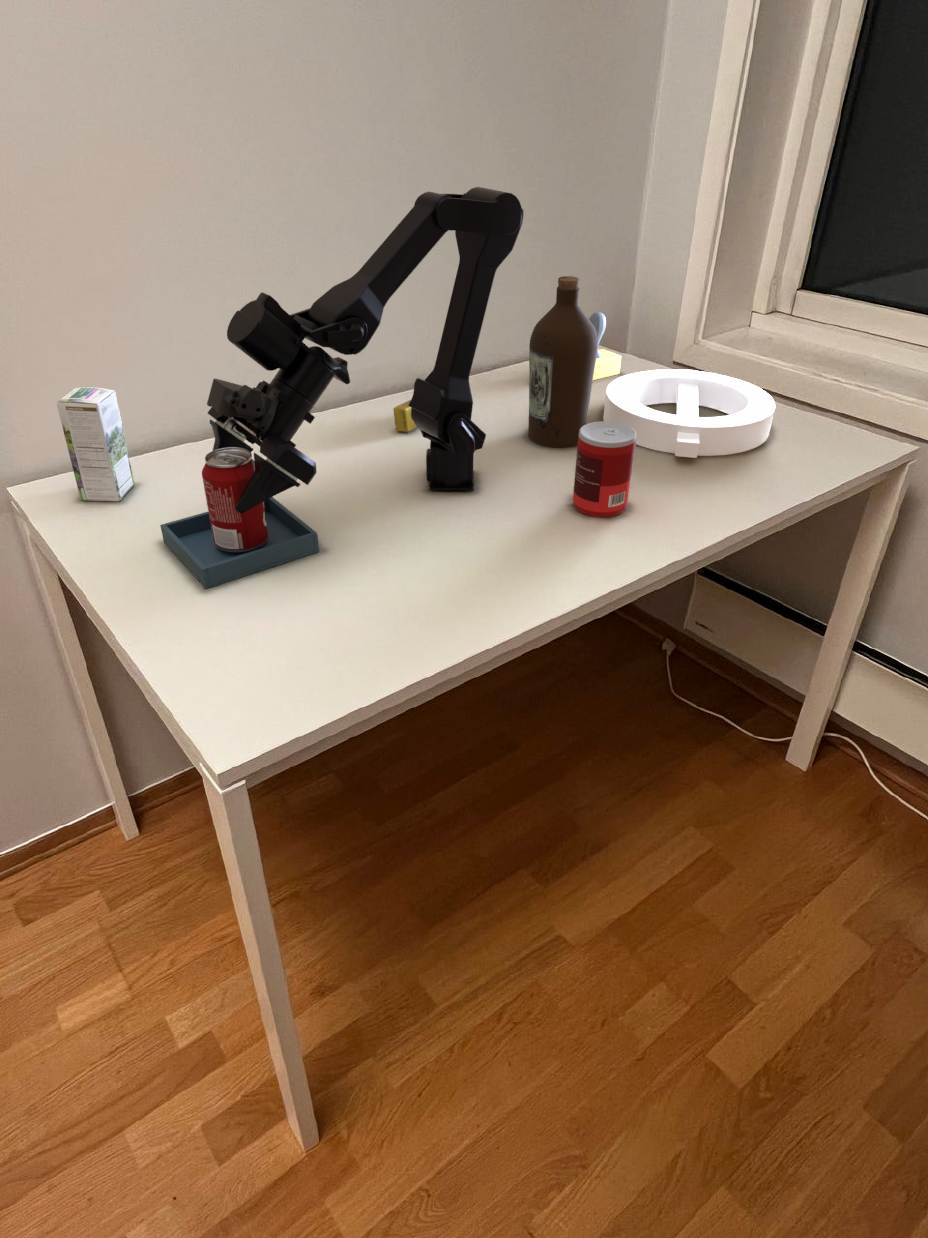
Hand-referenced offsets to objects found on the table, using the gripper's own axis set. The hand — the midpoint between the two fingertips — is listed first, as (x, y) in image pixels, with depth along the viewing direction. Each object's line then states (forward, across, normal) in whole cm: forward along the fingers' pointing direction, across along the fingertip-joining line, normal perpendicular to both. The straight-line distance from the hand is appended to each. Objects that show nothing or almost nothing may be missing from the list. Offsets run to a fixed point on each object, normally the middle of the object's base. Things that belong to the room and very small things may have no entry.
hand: (222, 497), depth 103 cm
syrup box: (+10, -26, 0) cm, 28 cm away
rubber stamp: (-56, -24, +67) cm, 90 cm away
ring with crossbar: (-52, +4, +63) cm, 82 cm away
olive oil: (-37, -4, +47) cm, 60 cm away
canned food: (-28, +18, +39) cm, 51 cm away
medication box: (-26, -22, +37) cm, 51 cm away
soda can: (+4, 0, +6) cm, 7 cm away
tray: (+4, 0, +6) cm, 8 cm away
